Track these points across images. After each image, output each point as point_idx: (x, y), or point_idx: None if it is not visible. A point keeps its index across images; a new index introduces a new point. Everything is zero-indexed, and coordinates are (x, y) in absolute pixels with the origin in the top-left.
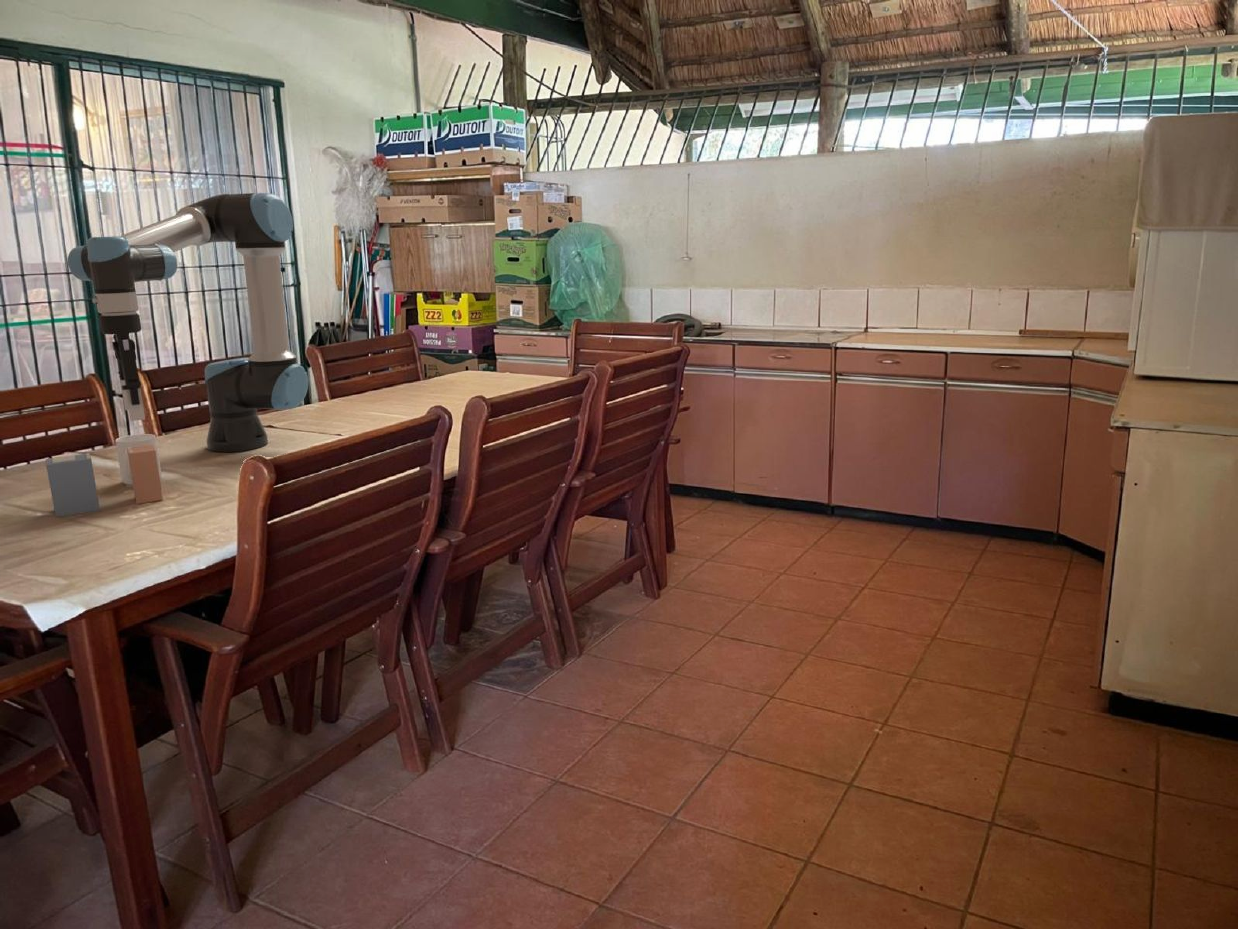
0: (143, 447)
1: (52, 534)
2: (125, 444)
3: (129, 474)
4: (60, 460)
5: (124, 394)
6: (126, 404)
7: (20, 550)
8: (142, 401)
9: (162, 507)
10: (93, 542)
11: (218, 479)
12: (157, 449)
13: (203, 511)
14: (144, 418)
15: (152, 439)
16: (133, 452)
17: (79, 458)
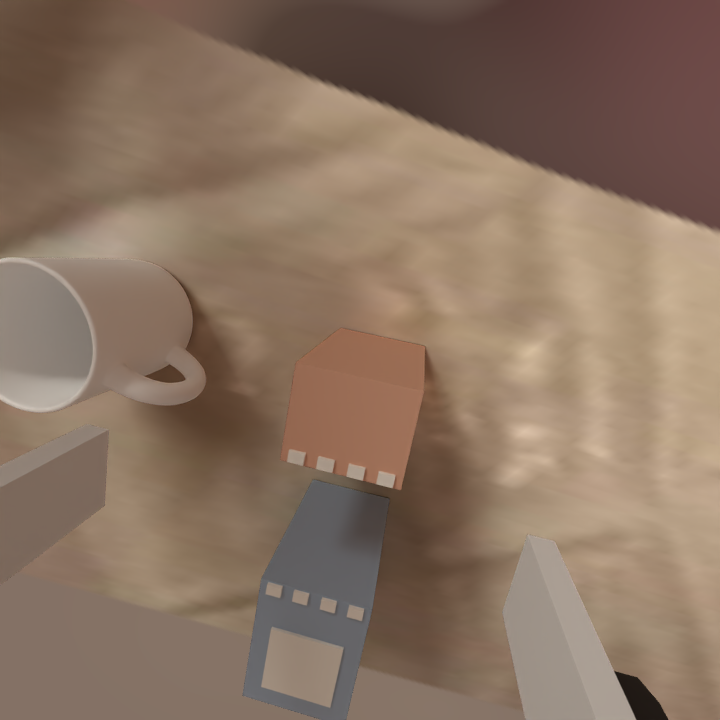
0: (320, 407)
1: None
2: (89, 392)
3: (205, 382)
4: (319, 683)
5: (8, 568)
6: (76, 516)
7: None
8: (606, 656)
9: (504, 373)
10: (695, 604)
11: (296, 116)
12: (86, 262)
13: (665, 298)
14: (556, 550)
15: (77, 286)
16: (391, 470)
17: (325, 629)
